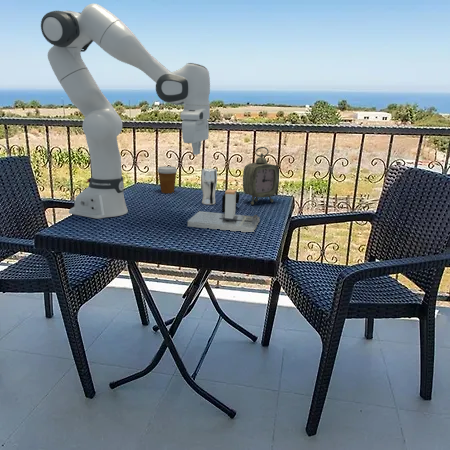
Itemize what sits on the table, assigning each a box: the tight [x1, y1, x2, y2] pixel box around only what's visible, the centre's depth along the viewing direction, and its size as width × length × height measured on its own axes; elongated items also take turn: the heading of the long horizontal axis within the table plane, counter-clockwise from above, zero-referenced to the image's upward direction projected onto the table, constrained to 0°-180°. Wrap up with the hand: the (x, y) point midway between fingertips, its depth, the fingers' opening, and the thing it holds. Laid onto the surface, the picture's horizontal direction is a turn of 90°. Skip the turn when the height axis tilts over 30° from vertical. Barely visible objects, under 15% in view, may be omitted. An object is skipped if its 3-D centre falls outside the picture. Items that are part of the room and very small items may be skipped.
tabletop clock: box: [242, 146, 280, 206], centre depth 173 cm, size 14×9×25 cm, turn 120°
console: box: [187, 210, 260, 233], centre depth 143 cm, size 24×14×4 cm, turn 76°
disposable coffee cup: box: [156, 165, 178, 194], centre depth 189 cm, size 10×10×12 cm
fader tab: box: [222, 188, 238, 220], centre depth 141 cm, size 5×4×10 cm
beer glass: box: [200, 168, 218, 206], centre depth 170 cm, size 7×7×15 cm
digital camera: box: [221, 190, 240, 213], centre depth 163 cm, size 10×5×7 cm, turn 169°
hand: (196, 154), depth 138 cm, fingers closed
